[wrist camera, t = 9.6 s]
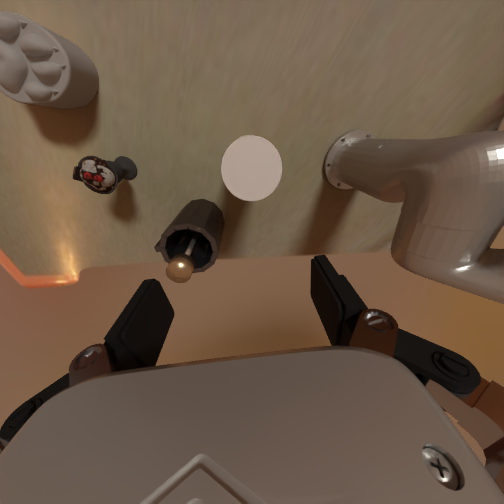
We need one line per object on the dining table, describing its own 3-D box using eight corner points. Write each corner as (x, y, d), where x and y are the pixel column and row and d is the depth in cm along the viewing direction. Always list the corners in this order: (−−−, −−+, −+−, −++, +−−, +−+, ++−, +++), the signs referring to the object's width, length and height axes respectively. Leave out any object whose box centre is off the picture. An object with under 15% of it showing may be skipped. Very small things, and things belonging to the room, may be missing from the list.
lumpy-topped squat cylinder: (7, 36, 33) (-61, 8, 26) (82, 29, 33) (36, -1, 26) (45, 111, 39) (-2, 105, 31) (109, 105, 39) (78, 98, 31)
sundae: (146, 167, 45) (108, 180, 32) (132, 189, 47) (91, 209, 34) (119, 144, 42) (65, 148, 29) (105, 168, 44) (49, 181, 32)
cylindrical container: (250, 176, 47) (256, 212, 25) (225, 156, 44) (209, 177, 23) (269, 150, 44) (294, 164, 23) (243, 127, 42) (245, 119, 20)
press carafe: (218, 196, 49) (209, 220, 35) (227, 235, 55) (222, 268, 41) (167, 204, 49) (138, 230, 36) (181, 241, 55) (161, 277, 41)
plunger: (212, 206, 48) (194, 250, 30) (219, 234, 52) (207, 287, 34) (182, 211, 48) (146, 257, 30) (191, 238, 52) (164, 293, 34)
